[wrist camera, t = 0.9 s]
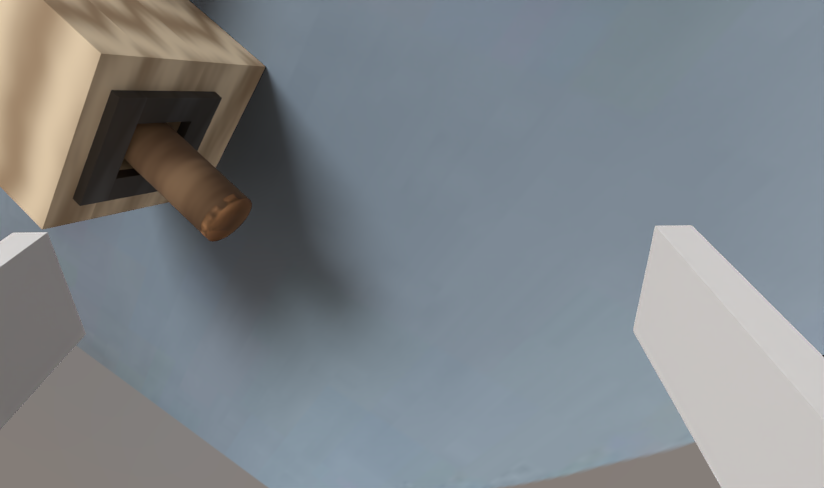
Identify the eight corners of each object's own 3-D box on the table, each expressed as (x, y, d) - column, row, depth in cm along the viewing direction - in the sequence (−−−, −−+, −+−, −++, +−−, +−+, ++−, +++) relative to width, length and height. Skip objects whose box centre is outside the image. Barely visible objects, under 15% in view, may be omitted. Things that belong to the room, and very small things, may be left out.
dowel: (84, 89, 44) (34, 88, 40) (98, 46, 42) (47, 41, 38) (237, 233, 41) (198, 247, 37) (259, 194, 39) (220, 203, 36)
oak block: (132, 128, 52) (-46, 139, 39) (183, -4, 46) (-7, -46, 33) (208, 200, 51) (49, 237, 37) (272, 72, 44) (110, 61, 31)
